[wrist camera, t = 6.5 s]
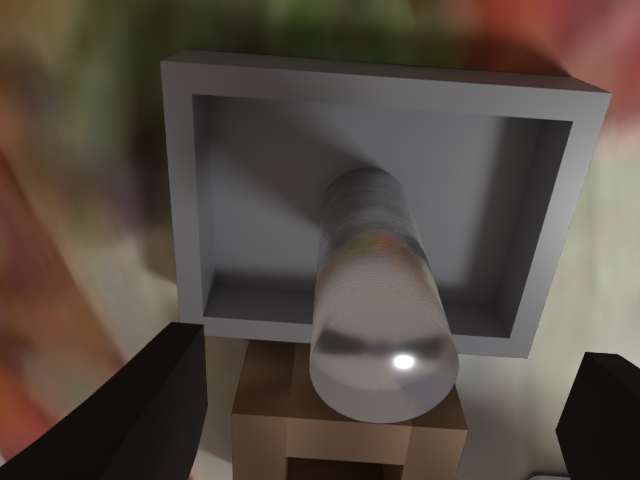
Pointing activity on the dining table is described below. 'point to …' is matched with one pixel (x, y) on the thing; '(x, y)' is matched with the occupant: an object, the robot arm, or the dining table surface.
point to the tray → (379, 153)
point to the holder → (330, 428)
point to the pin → (377, 306)
